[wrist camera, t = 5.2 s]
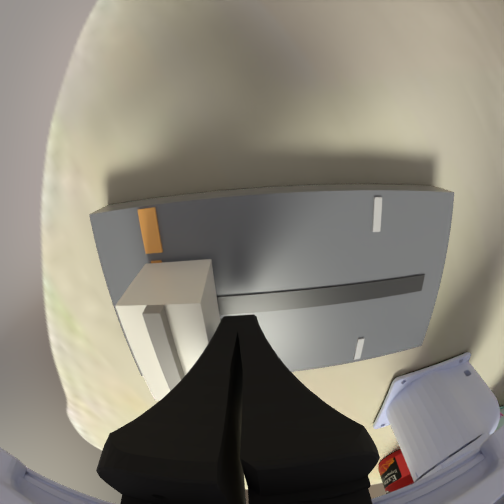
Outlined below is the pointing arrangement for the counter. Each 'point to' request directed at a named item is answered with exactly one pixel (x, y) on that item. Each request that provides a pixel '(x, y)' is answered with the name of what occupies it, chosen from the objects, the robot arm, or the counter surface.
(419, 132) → the counter surface
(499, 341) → the counter surface
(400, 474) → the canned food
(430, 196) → the fader console
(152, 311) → the fader knob
